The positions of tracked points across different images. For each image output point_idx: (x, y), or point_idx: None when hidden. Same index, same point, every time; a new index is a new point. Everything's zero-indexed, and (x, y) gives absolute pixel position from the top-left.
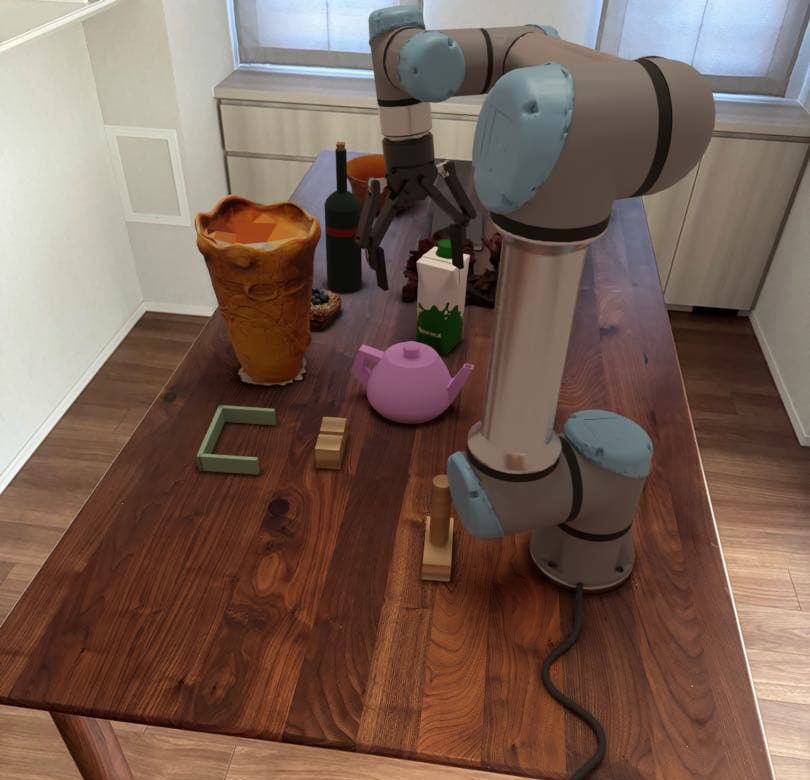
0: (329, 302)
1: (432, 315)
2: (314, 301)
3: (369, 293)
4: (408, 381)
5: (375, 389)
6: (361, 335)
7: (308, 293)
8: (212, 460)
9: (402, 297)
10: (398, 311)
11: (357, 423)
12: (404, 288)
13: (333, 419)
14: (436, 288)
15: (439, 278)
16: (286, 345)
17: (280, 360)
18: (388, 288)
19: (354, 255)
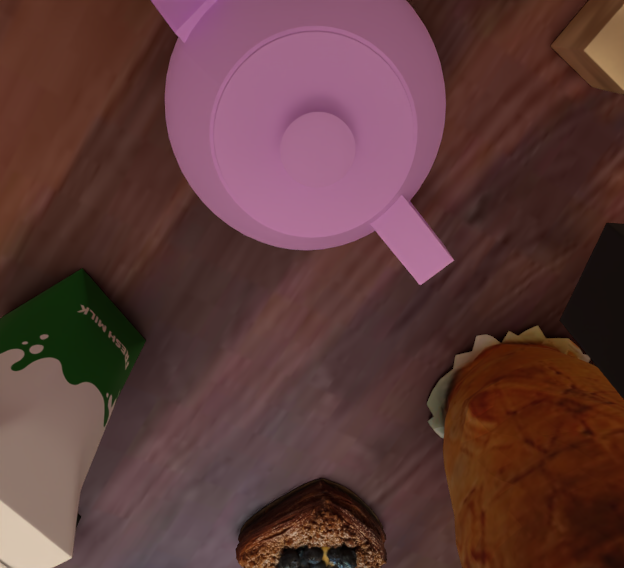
0: (281, 547)
1: (85, 362)
2: (320, 558)
3: (142, 563)
4: (389, 26)
5: (444, 120)
6: (248, 433)
7: (560, 514)
8: None
9: (76, 525)
10: (110, 485)
11: (484, 94)
12: None
13: (619, 65)
14: (40, 424)
15: (12, 452)
16: (589, 386)
17: (580, 364)
18: (614, 228)
19: None
